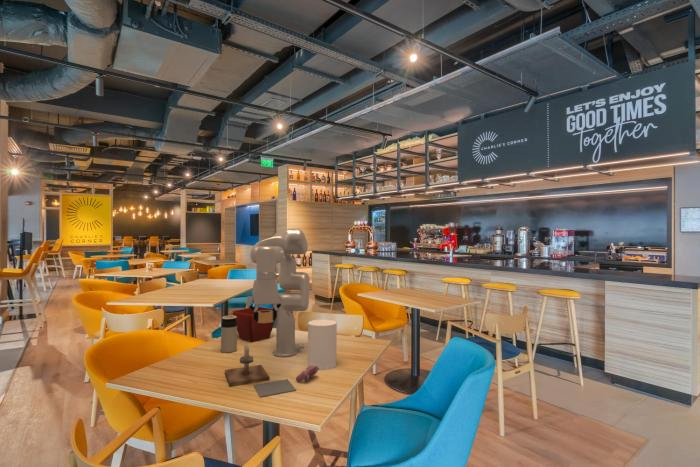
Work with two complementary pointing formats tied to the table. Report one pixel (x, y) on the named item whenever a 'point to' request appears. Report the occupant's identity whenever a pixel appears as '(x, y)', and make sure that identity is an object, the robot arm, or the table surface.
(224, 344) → the travel mug
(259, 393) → the rubber mat
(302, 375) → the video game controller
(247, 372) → the post stand
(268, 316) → the wooden ring
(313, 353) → the canister
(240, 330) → the plant pot
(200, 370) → the table surface
